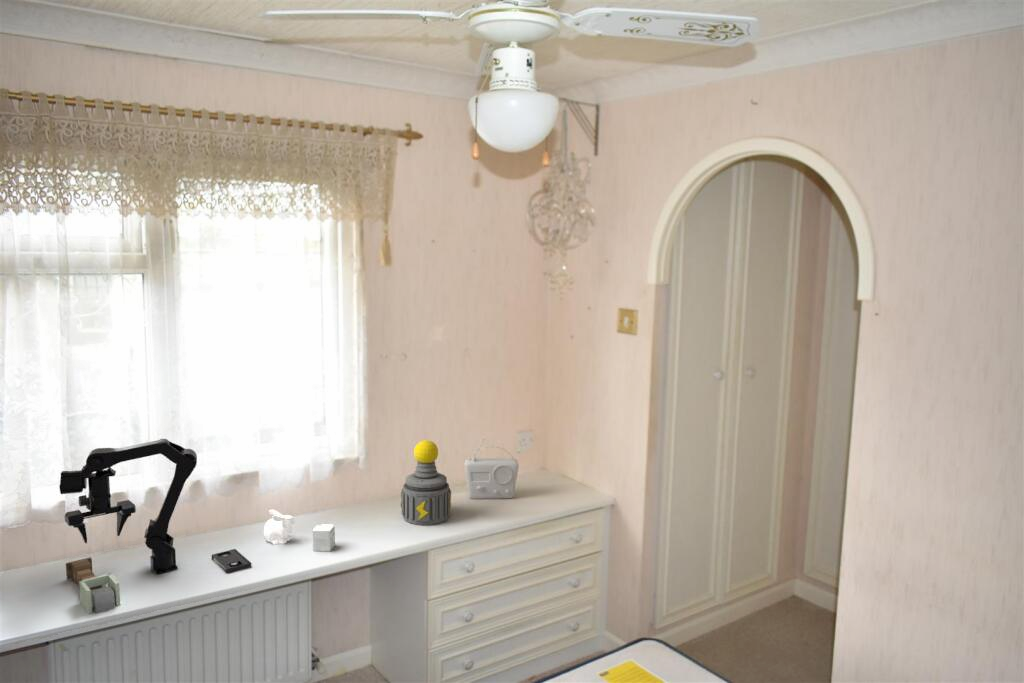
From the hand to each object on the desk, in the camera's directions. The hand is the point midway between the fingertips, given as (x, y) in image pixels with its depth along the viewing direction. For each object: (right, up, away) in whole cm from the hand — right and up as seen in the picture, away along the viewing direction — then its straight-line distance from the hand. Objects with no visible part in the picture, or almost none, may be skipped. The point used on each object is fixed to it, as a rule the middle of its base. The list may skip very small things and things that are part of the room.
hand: (102, 539), depth 244 cm
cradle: (+7, -14, -15) cm, 22 cm away
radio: (+118, -3, +81) cm, 143 cm away
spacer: (+8, -12, -17) cm, 22 cm away
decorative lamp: (+94, -6, +57) cm, 110 cm away
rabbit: (+46, -9, +31) cm, 56 cm away
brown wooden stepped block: (-1, -13, -6) cm, 14 cm away
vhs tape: (+35, -12, +13) cm, 39 cm away
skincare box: (+62, -10, +26) cm, 68 cm away
